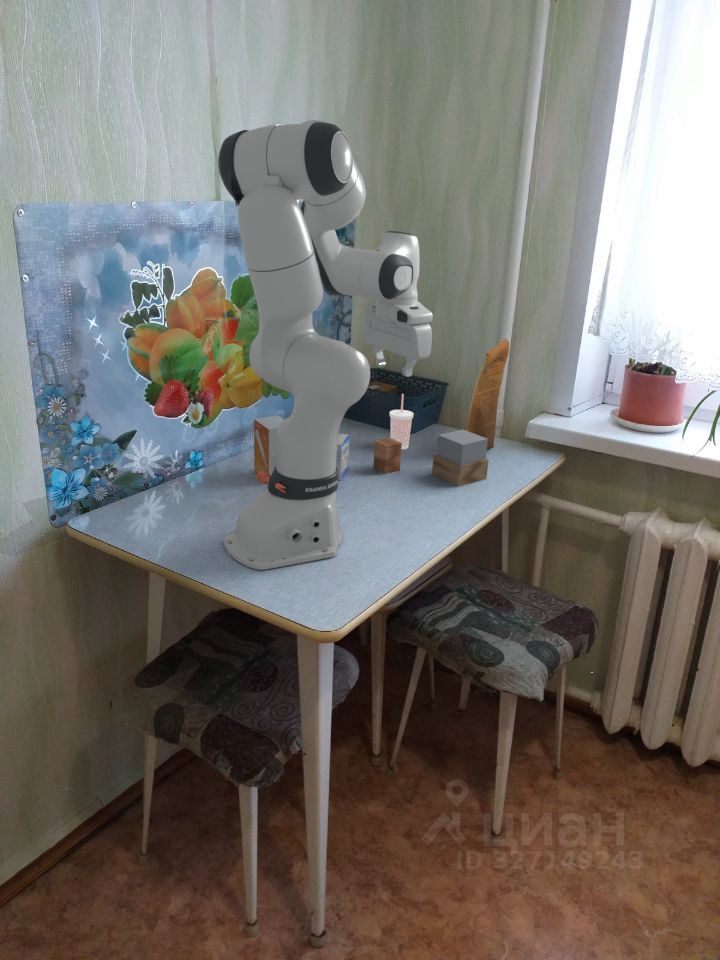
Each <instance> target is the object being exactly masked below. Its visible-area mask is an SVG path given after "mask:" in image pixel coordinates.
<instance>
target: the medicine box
mask: <svg viewBox="0 0 720 960" xmlns="http://www.w3.org/2000/svg"><path fill="white" fill-rule="evenodd" d="M349 454H350V435H349V434H348V433H347V434H345V433H338V442H337V458H336V467H337V468H338V481H342V479H343V478H344V476H345V474H346V472H347V471H348V470H349V457H350V455H349Z"/></svg>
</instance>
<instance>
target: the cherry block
mask: <svg viewBox="0 0 720 960" xmlns="http://www.w3.org/2000/svg"><path fill="white" fill-rule="evenodd" d="M373 447H374V449H373V450H374V451H373V466H372V468H373V470H375V469H376V470H375V471H377V470H378V472H379V471H380V472H379V473H381V472H382V474H383V473H384V474H383V475H388V474H387V473H389V474H393V473H397V472H400V471H401V460H402V450H401V448H402V443H401V442H399V441H396V440H394V439H392V438H391V437H385V438H381V439H376V440H374V446H373ZM396 471H397V472H396ZM392 472H393V473H392Z"/></svg>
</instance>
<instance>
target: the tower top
mask: <svg viewBox="0 0 720 960" xmlns="http://www.w3.org/2000/svg"><path fill="white" fill-rule="evenodd" d="M487 442H488V439H487V438H484V437H481V436H479V435H476V434H474V433H471V432H468V431H466V430H465V429H459V430H454V431H450V432H445V433H442V434H441V433H440V434H438V436H437V448H436V454H437V456H439V457H442V458H444V459H446V460H449V461H451V462H453V463H455V464H458V465H460V466H463V465H466V464H470V463H474V462H478V461H481V460H485V459H487V458H486V457H487V452H488V450H487Z"/></svg>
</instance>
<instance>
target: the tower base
mask: <svg viewBox="0 0 720 960" xmlns="http://www.w3.org/2000/svg"><path fill="white" fill-rule="evenodd" d="M488 466H489V459H487V458H486V459H485V460H481V461H478V462H474V463H470V464H466V465H463V466H460V465H458V464H455V463H453V462H451V461H449V460H446V459H444V458H442V457H439V456H437V453H436V454H433V457H432V468H431V469H432V470H431V475H433V476H436V477H437V478H439V479H442V480H443V481H446V482H448V483H450V484H453V485H454V486H456V487H457V488H458V487H463V486H465V485H469V484H472V483H476V482H480V481H484V480H487V479H488V477H487V476H488V470H489V469H488V468H489V467H488Z"/></svg>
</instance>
